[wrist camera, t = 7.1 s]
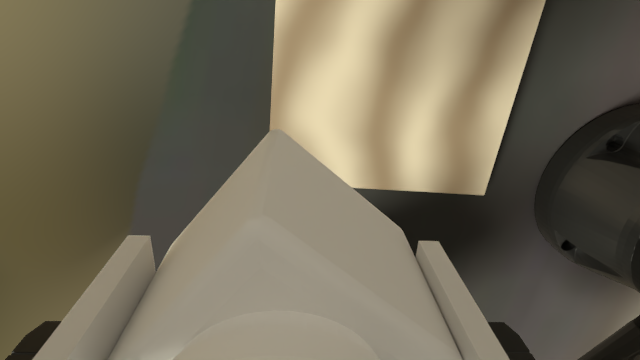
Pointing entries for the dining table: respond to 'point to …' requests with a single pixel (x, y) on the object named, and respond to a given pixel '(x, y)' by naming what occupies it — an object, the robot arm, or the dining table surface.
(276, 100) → the birch board
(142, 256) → the robot arm
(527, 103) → the dining table surface
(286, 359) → the medicine bottle
